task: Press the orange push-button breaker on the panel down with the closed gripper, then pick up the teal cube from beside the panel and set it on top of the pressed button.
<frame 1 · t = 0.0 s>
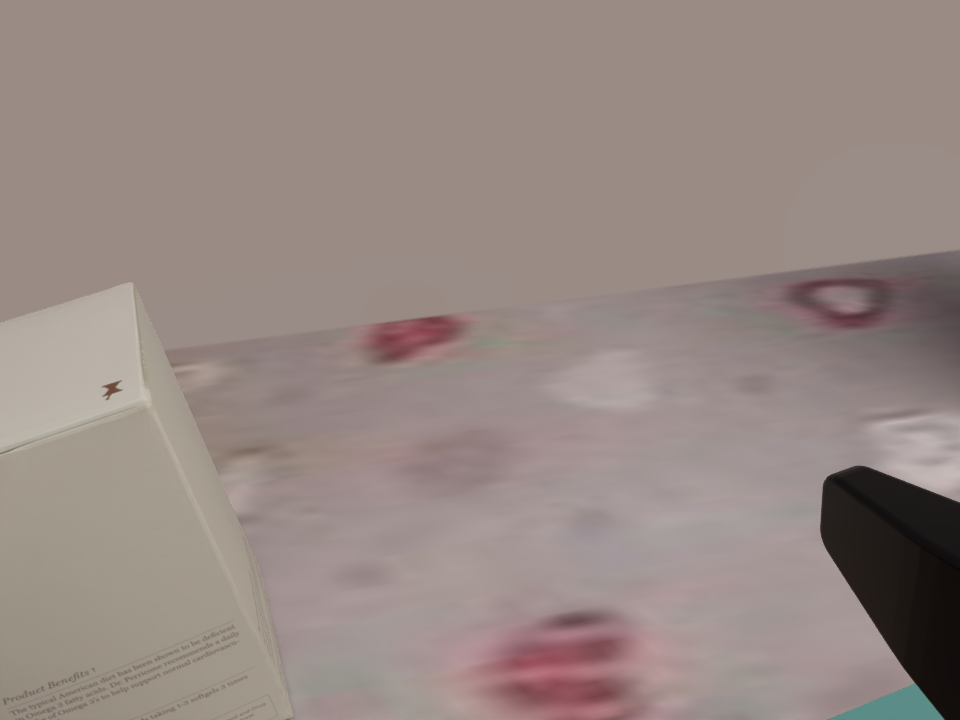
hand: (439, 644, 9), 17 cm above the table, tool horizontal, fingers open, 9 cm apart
supplement box: (174, 682, 31), on the table
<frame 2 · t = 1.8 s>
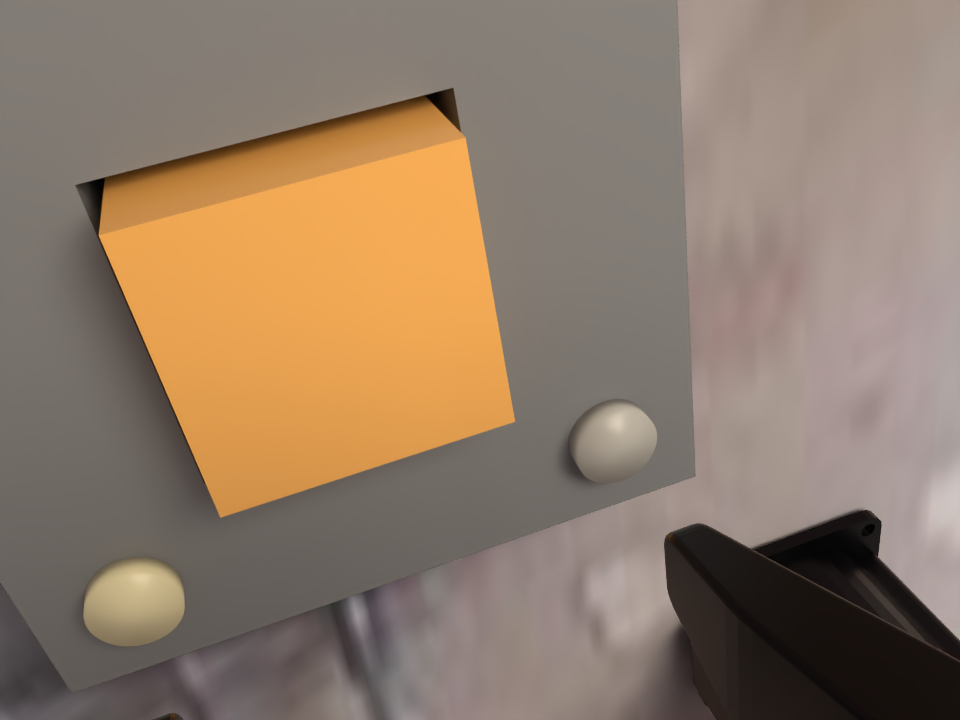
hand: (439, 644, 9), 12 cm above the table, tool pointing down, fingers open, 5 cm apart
breaker panel: (290, 216, 19), on the table
breaker button: (322, 306, 16), point 4 cm above the table, slide at 0.0 cm
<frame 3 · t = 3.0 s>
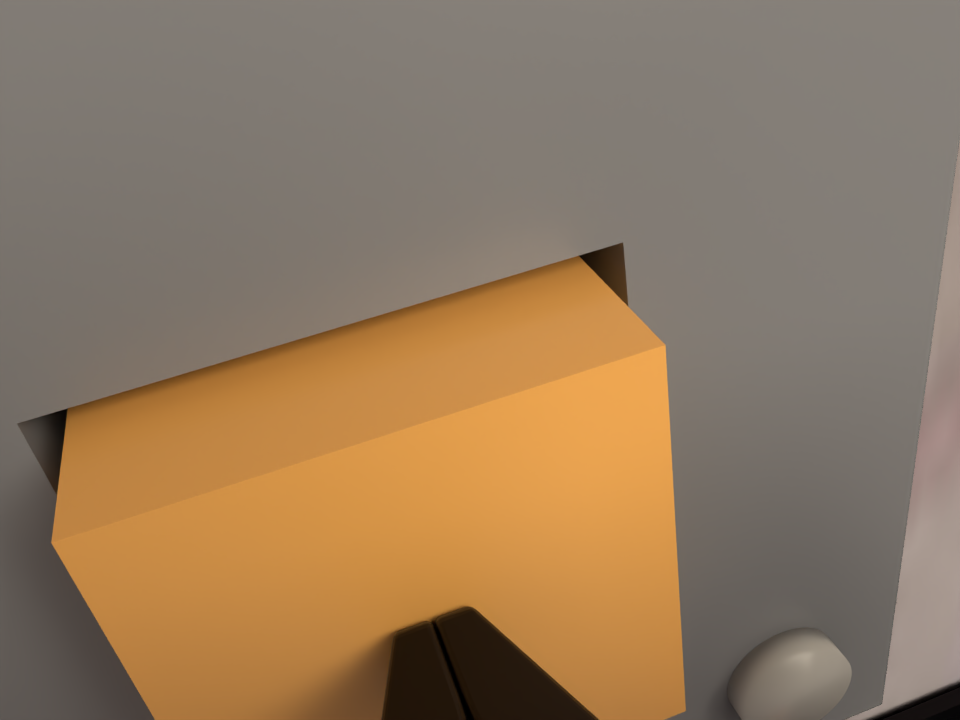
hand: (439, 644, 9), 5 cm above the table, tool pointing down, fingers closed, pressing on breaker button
breaker panel: (339, 371, 14), on the table
breaker button: (406, 561, 10), point 4 cm above the table, slide at 0.0 cm, touching gripper
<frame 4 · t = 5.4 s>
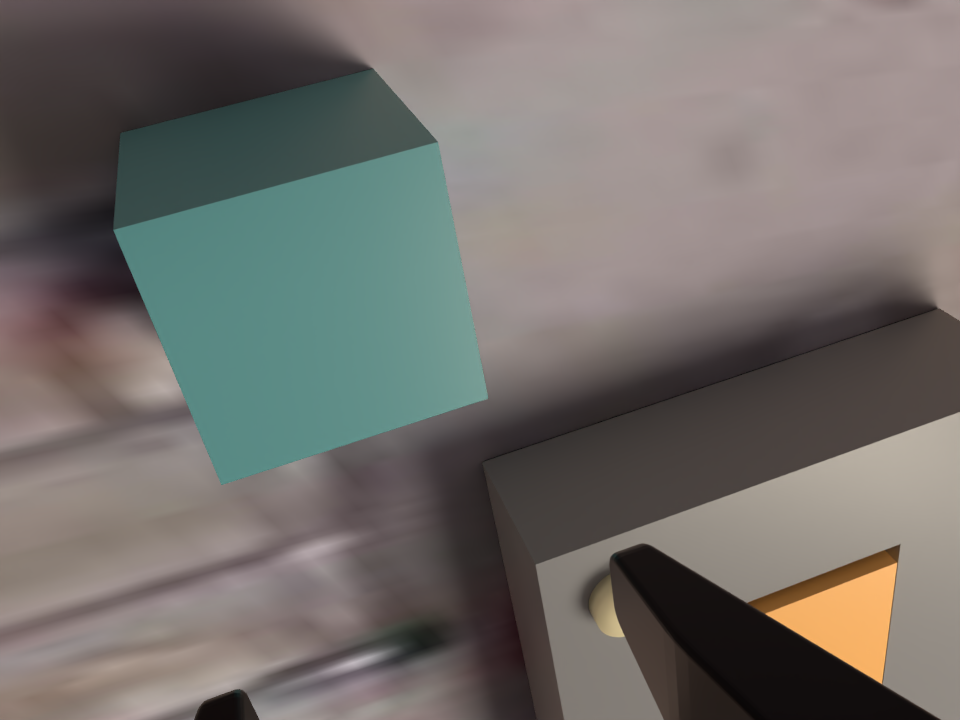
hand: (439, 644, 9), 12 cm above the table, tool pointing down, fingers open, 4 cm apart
breaker panel: (725, 559, 29), on the table
breaker button: (779, 629, 27), point 3 cm above the table, slide at 1.2 cm
teal cube: (285, 215, 19), on the table
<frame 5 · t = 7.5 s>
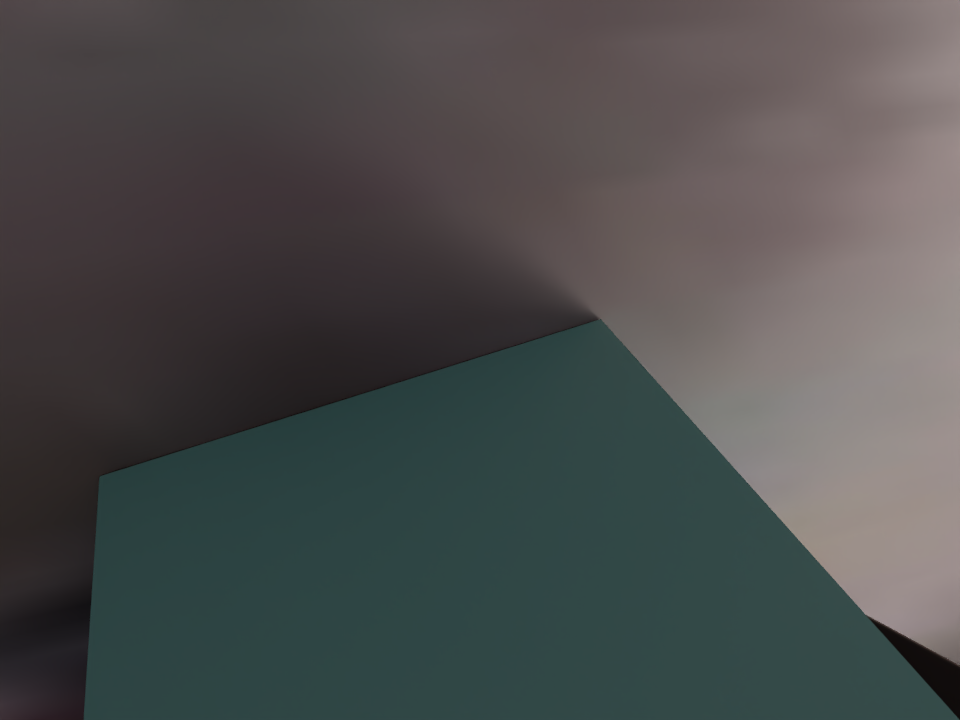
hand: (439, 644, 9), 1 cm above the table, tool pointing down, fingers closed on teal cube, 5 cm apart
teal cube: (413, 573, 10), on the table, touching gripper
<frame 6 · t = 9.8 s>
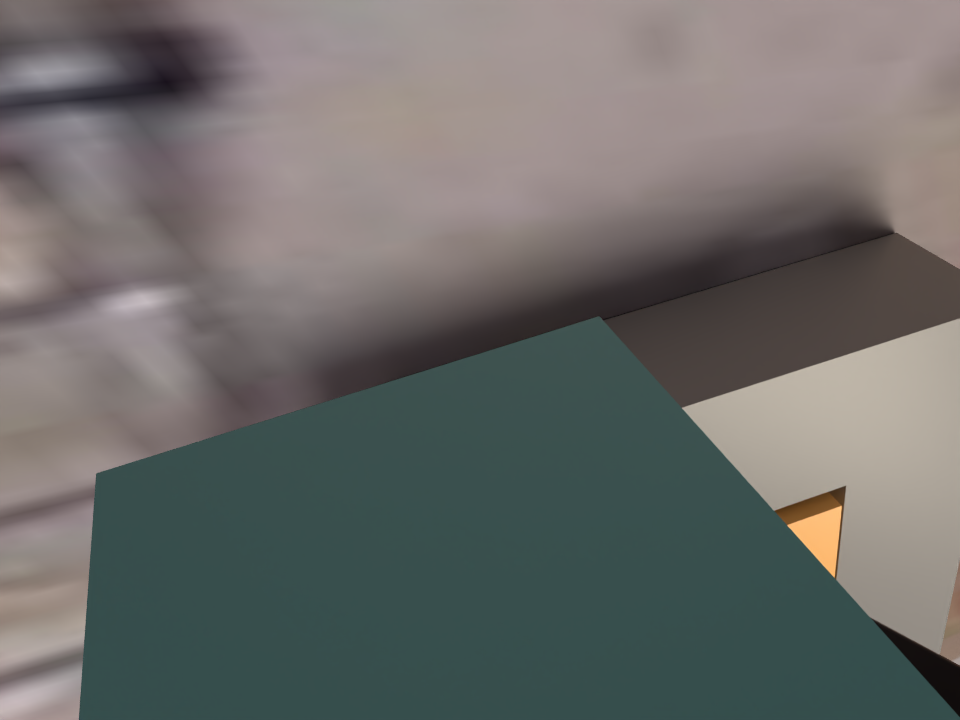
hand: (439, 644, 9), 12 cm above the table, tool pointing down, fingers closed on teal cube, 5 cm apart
breaker panel: (663, 509, 27), on the table
breaker button: (715, 582, 24), point 3 cm above the table, slide at 1.2 cm
teal cube: (411, 571, 10), point 11 cm above the table, touching gripper
when the fingers open (7 cm above the table, at t = 12.2 s): teal cube drops 2 cm, resting on breaker button.
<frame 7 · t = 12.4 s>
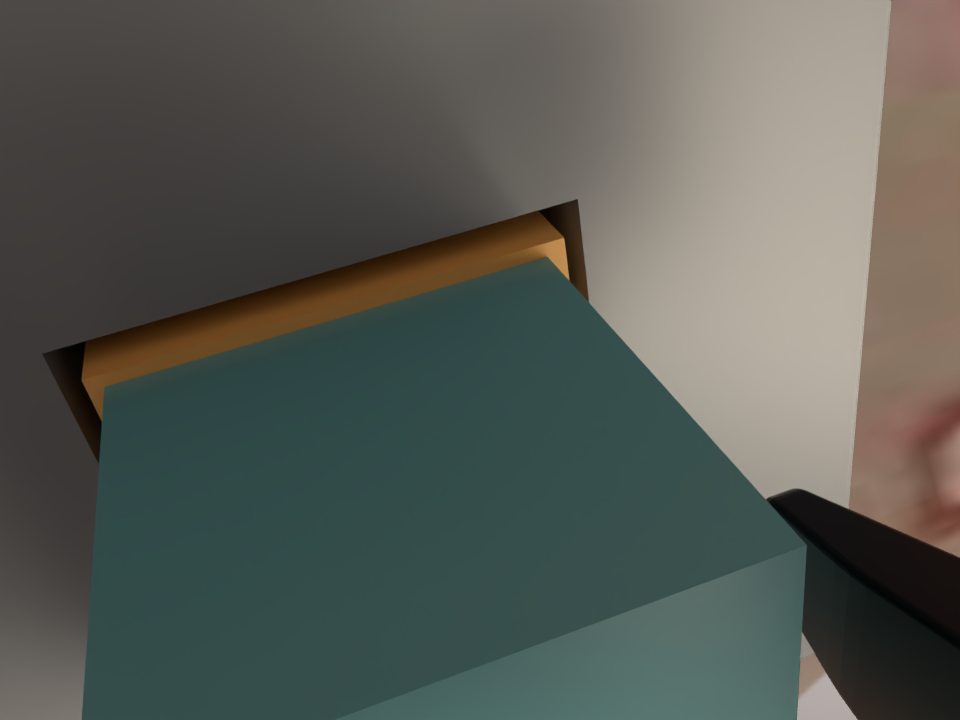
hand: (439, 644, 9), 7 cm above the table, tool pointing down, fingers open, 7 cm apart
breaker panel: (330, 331, 15), on the table
breaker button: (367, 434, 12), point 3 cm above the table, slide at 1.3 cm, touching teal cube
teal cube: (384, 488, 11), point 4 cm above the table, touching breaker button
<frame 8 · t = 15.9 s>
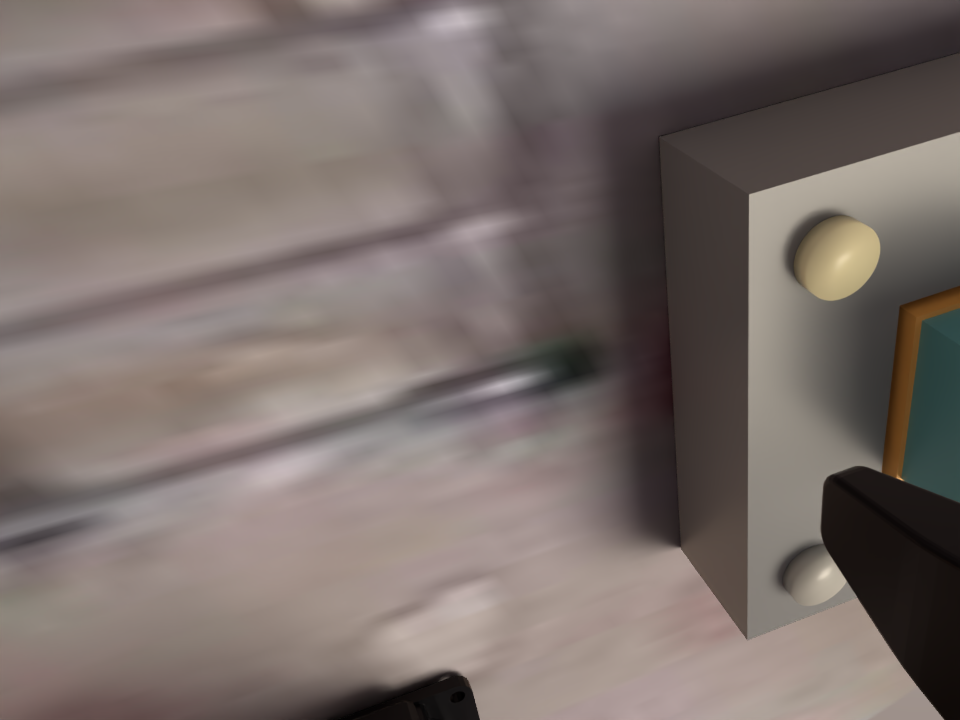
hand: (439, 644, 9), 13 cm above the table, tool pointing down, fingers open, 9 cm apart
breaker panel: (886, 302, 27), on the table
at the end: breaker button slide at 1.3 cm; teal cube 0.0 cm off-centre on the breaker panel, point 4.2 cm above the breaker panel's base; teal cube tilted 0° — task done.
